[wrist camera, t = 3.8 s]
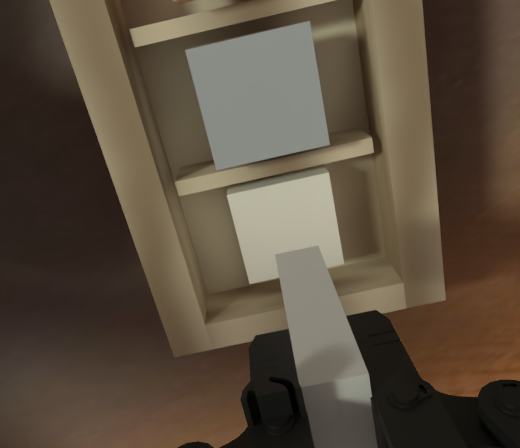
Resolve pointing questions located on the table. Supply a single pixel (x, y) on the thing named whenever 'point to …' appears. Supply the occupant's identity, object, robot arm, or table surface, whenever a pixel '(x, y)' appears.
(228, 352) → the table surface
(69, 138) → the table surface
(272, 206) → the key ivory
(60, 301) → the table surface
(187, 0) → the key terracotta
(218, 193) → the wooden compartment tray
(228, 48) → the key slate
